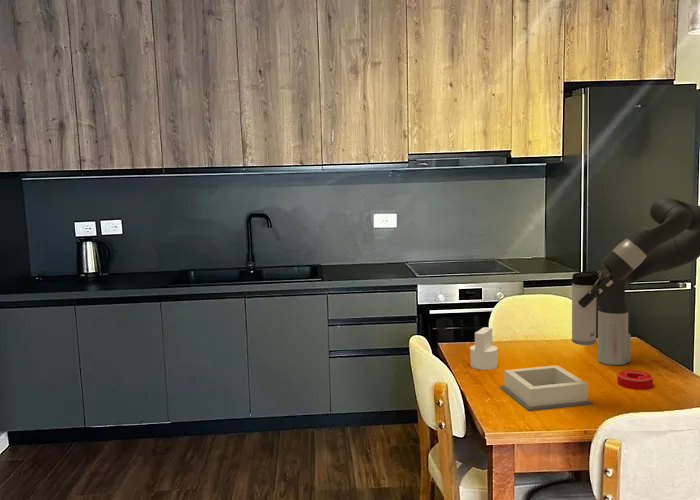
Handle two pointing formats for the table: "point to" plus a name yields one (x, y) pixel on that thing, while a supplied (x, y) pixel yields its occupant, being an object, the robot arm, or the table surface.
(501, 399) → the table surface
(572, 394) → the square shallow tray
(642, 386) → the decorative ornament
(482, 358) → the cylinder with rectangular tab
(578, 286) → the travel mug
